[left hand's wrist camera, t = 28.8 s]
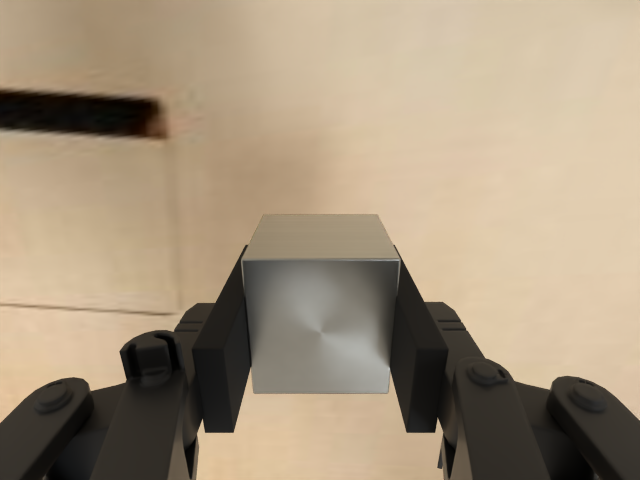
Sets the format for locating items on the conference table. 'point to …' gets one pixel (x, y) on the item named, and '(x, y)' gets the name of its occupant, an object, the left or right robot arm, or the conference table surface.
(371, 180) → the conference table surface
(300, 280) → the block
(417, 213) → the conference table surface
